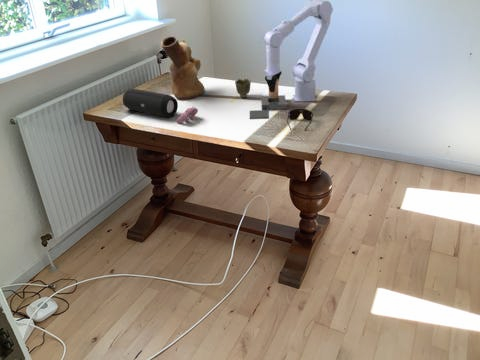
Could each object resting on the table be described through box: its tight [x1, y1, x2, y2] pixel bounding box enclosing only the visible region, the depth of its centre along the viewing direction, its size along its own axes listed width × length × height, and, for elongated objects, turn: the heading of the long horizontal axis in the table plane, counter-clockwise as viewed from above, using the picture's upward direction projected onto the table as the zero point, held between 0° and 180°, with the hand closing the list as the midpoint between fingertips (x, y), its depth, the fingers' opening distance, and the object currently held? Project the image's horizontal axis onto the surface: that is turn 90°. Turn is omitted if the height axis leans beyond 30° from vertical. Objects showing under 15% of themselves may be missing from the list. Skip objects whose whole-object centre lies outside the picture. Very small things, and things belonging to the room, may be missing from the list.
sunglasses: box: [286, 108, 314, 132], centre depth 183 cm, size 10×12×5 cm
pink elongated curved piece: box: [176, 106, 199, 124], centre depth 191 cm, size 10×5×7 cm, turn 148°
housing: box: [260, 94, 287, 111], centre depth 202 cm, size 11×11×2 cm
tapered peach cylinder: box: [268, 76, 279, 99], centre depth 198 cm, size 4×4×9 cm
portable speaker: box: [122, 88, 179, 118], centre depth 200 cm, size 26×10×10 cm, turn 60°
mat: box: [249, 109, 269, 120], centre depth 194 cm, size 8×8×1 cm
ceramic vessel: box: [160, 36, 206, 100], centre depth 210 cm, size 16×22×30 cm
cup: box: [234, 78, 252, 99], centre depth 211 cm, size 8×7×8 cm
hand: (273, 89), depth 199 cm, fingers closed on tapered peach cylinder, 4 cm apart
